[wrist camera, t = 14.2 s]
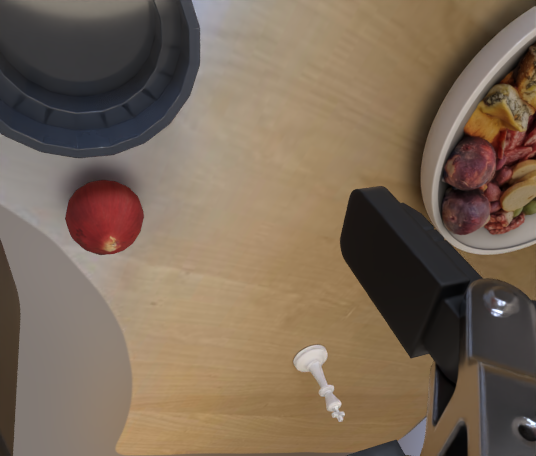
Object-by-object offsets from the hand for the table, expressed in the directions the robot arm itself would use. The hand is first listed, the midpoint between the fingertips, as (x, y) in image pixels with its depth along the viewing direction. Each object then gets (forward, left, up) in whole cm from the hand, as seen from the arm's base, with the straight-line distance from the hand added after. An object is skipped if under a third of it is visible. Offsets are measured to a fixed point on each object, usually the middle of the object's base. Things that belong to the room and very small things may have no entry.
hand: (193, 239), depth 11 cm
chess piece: (+48, +22, -28) cm, 60 cm away
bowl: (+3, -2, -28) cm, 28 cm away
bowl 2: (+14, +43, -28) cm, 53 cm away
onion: (+17, -2, -28) cm, 33 cm away
